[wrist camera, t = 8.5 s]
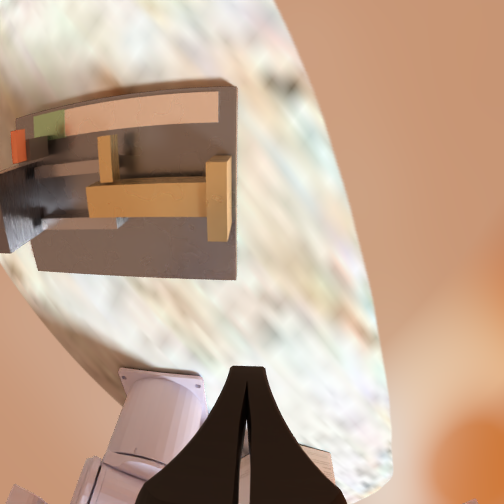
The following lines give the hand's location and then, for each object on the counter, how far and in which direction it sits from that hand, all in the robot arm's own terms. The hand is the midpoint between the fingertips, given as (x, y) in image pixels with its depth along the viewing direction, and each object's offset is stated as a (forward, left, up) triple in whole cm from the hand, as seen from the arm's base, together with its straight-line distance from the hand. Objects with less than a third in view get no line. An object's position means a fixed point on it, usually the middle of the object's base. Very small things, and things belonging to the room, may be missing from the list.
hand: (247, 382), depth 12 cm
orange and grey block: (+10, +14, -8) cm, 19 cm away
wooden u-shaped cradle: (+7, +5, -9) cm, 12 cm away
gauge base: (+6, +9, -10) cm, 15 cm away
